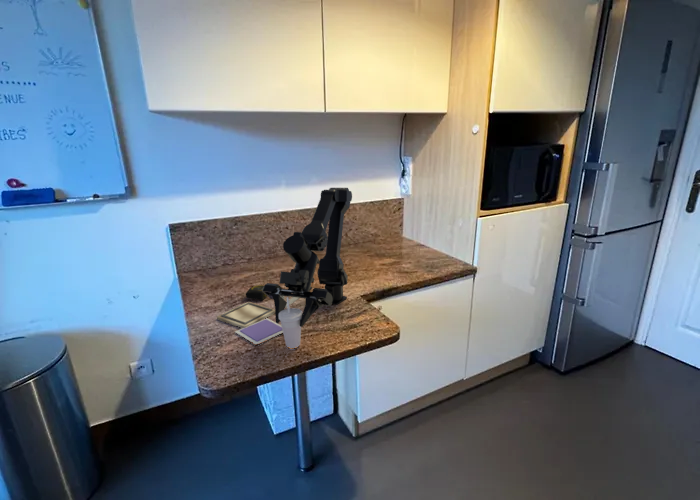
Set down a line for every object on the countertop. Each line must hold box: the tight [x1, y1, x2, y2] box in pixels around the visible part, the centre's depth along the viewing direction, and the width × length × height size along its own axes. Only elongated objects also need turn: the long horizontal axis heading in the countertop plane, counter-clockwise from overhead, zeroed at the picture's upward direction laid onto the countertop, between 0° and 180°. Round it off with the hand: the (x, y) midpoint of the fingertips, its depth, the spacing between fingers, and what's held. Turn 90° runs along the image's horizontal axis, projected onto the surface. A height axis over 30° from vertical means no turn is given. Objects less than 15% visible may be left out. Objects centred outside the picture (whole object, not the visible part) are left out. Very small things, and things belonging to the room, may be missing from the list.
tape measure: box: [245, 284, 268, 301], centre depth 130 cm, size 7×7×4 cm
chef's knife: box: [285, 286, 313, 309], centre depth 130 cm, size 19×1×3 cm
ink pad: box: [234, 317, 283, 344], centre depth 106 cm, size 11×11×1 cm
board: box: [216, 301, 275, 329], centre depth 116 cm, size 13×13×1 cm
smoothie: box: [278, 296, 303, 348], centre depth 96 cm, size 6×6×14 cm
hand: (288, 324), depth 95 cm, fingers open, 7 cm apart
